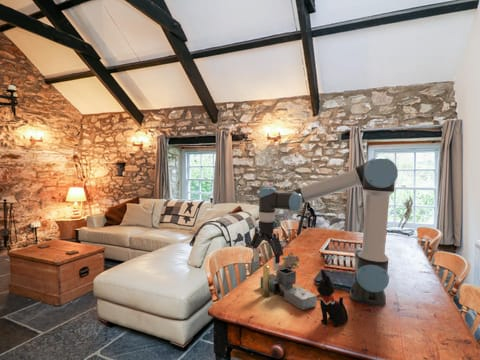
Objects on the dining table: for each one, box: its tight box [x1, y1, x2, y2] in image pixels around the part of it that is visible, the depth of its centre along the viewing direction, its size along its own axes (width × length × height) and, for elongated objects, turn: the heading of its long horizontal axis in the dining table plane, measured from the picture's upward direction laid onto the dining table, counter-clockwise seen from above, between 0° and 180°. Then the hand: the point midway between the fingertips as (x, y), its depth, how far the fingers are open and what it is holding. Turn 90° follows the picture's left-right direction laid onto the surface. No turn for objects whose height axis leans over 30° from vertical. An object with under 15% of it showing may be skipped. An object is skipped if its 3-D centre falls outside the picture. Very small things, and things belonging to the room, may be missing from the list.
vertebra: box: [278, 252, 300, 270], centre depth 171 cm, size 20×11×10 cm, turn 140°
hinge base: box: [260, 267, 297, 299], centre depth 139 cm, size 17×8×12 cm, turn 37°
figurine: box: [316, 268, 349, 328], centre depth 111 cm, size 8×13×20 cm, turn 95°
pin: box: [262, 264, 270, 298], centre depth 134 cm, size 3×3×14 cm
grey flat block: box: [283, 285, 317, 311], centre depth 127 cm, size 12×8×5 cm, turn 31°
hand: (265, 265), depth 134 cm, fingers open, 13 cm apart
